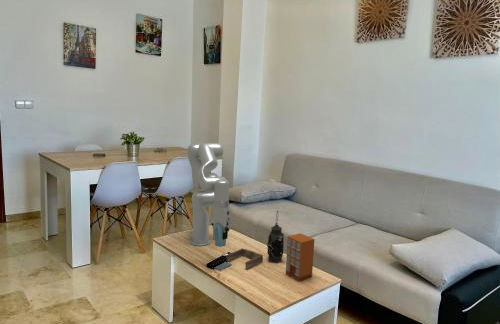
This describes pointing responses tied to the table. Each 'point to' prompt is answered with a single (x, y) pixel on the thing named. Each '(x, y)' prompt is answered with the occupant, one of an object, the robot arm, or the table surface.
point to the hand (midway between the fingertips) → (220, 237)
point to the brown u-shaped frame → (254, 257)
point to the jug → (218, 235)
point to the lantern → (275, 244)
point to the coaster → (223, 266)
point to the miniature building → (299, 256)
